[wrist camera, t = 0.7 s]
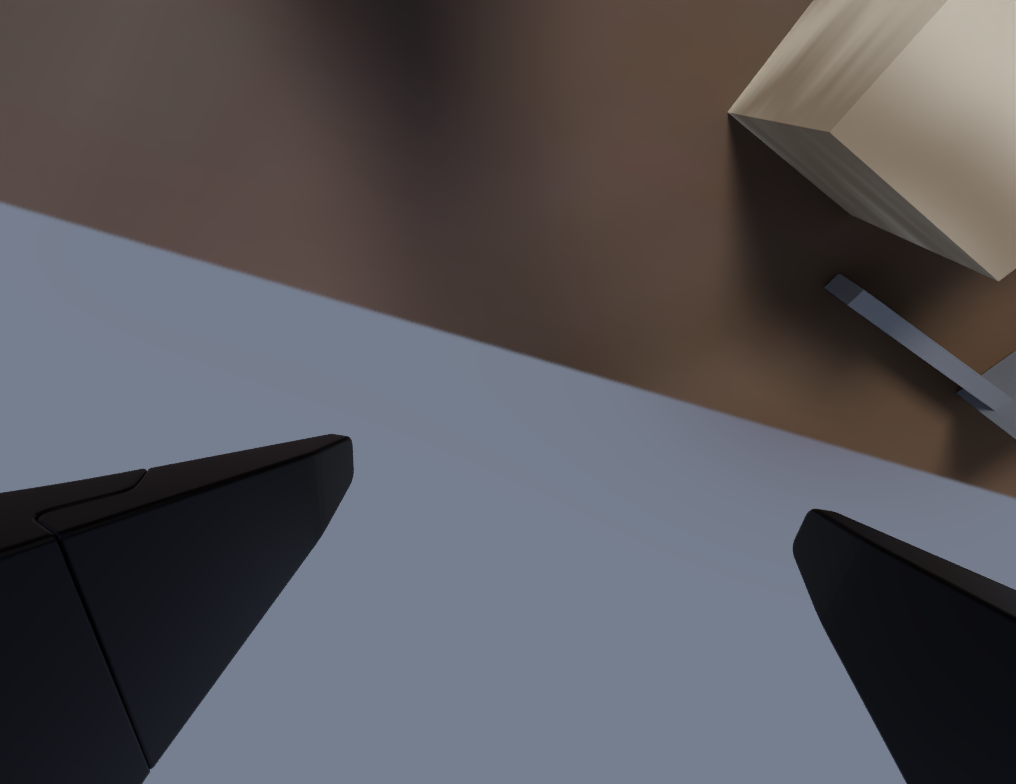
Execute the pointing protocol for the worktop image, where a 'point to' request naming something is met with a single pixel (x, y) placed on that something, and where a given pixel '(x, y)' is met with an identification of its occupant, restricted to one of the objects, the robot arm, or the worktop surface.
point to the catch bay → (940, 357)
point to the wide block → (902, 119)
